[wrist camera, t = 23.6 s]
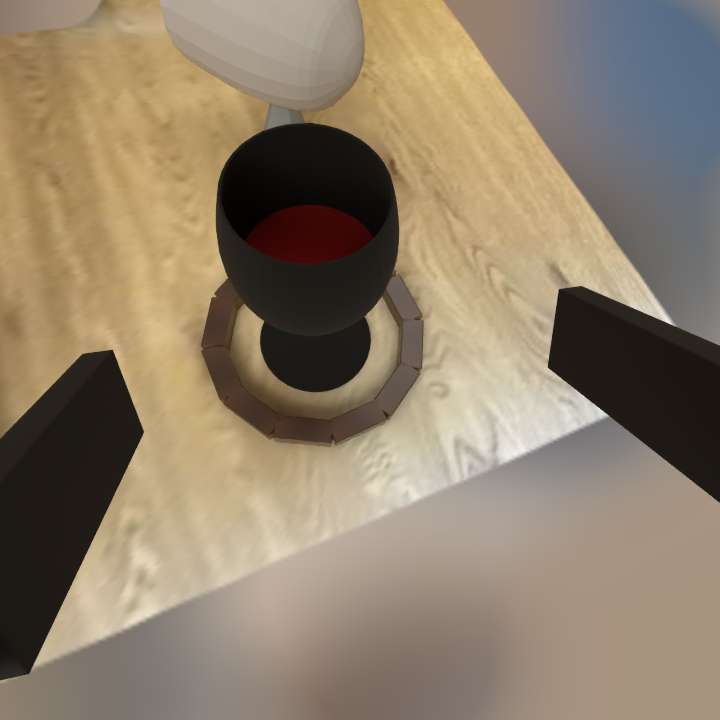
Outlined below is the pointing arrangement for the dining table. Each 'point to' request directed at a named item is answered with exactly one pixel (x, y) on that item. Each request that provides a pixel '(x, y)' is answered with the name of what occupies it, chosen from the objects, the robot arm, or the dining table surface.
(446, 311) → the dining table surface
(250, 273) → the wine glass
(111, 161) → the dining table surface
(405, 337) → the walnut ring
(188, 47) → the beige ovoid on pedestal
